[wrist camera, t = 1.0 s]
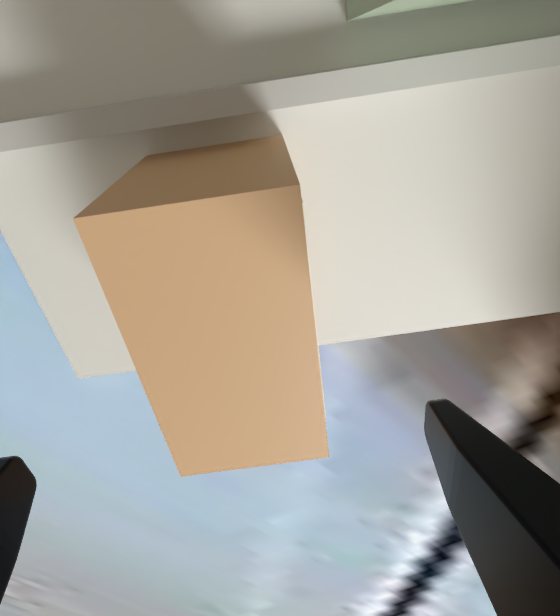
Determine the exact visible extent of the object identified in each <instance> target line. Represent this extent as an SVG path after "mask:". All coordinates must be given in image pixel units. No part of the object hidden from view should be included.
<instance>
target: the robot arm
mask: <svg viewBox="0 0 560 616" xmlns="http://www.w3.org/2000/svg"><path fill="white" fill-rule="evenodd" d="M424 431H425V436H426V440H427V443H428V446H429V449H430V452H431V455H432V458H433V461H434V464H435V467H436V470H437V473H438V476H439V480H440V483H441V486H442V489H443V492H444V495H445V498H446V501H447V504H448V506H449V509H450V511H451V514H452V516H453V518H454V521H455V523H456V525H457V527H458V529H459V532H460V534H461V536H462V538H463V541H464V543H465V545H466V547H467V549H468V552H469V554H470V556H471V558H472V561H473V563H474V565H475V567H476V569H477V572H478V574H479V576H480V578H481V581H482V583H483V585H484V587H485V589H486V592H487V594H488V596H489V598H490V601H491V603H492V605H493V607H494V609H495V612H496V614H497V616H560V484H559V483H558V482H557V481H555V480H554V479H553V478H551V477H550V476H549V475H547V474H546V473H545V472H543V471H542V470H541V469H539V468H538V467H537V466H535V465H534V464H533V463H531V462H530V461H529V460H527V459H526V458H525V457H523V456H522V455H521V454H519V453H518V452H517V451H515V450H514V449H513V448H511V447H510V446H509V445H508V444H506V443H505V442H504V441H502V440H501V439H500V438H498V437H497V436H496V435H494V434H493V433H492V432H490V431H489V430H488V429H486V428H485V427H484V426H482V425H481V424H480V423H478V422H477V421H476V420H474V419H473V418H472V417H470V416H469V415H468V414H466V413H465V412H464V411H462V410H461V409H460V408H458V407H457V406H456V405H455V404H453V403H452V402H451V401H449V400H447V399H437V400H430V401H428V402H427V403H426V408H425V422H424ZM35 491H36V479H35V477H34V475H33V474H32V473H31V471H30V470H29V468H28V467H27V466H26V464H25V463H24V461H23V460H22V459H21V458H20V457H18V456H10V457H2V458H0V604H1V601H2V598H3V596H4V593H5V590H6V588H7V585H8V582H9V580H10V577H11V574H12V571H13V569H14V566H15V563H16V560H17V557H18V553H19V550H20V546H21V543H22V539H23V535H24V532H25V528H26V524H27V521H28V517H29V513H30V510H31V506H32V502H33V499H34V495H35Z"/></svg>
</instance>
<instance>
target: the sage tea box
mask: <svg viewBox="0 0 560 616" xmlns="http://www.w3.org/2000/svg"><path fill="white" fill-rule="evenodd" d="M472 1H478V0H346V13H347V21H353V20H360V19H366V18H372V17H378V16H385V15H391V14H397V13H403V12H410V11H416V10H422V9H428V8H435V7H441V6H447V5H453V4H460V3H466V2H472Z"/></svg>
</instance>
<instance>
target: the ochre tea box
mask: <svg viewBox="0 0 560 616" xmlns="http://www.w3.org/2000/svg"><path fill="white" fill-rule="evenodd" d="M73 220H74V223H75V225H76V227H77V230H78V232H79V235H80V237H81V239H82V242H83V244H84V247H85V249H86V251H87V254H88V256H89V258H90V261H91V263H92V266H93V268H94V270H95V273H96V275H97V278H98V280H99V282H100V285H101V287H102V290H103V292H104V294H105V297H106V299H107V301H108V304H109V306H110V309H111V311H112V313H113V316H114V318H115V321H116V323H117V325H118V328H119V330H120V333H121V335H122V337H123V340H124V342H125V344H126V347H127V349H128V352H129V354H130V356H131V359H132V361H133V364H134V366H135V368H136V371H137V373H138V376H139V378H140V380H141V383H142V385H143V387H144V390H145V392H146V395H147V397H148V399H149V402H150V404H151V407H152V409H153V411H154V414H155V416H156V419H157V421H158V423H159V426H160V428H161V430H162V433H163V435H164V438H165V440H166V442H167V445H168V447H169V450H170V452H171V454H172V457H173V459H174V462H175V464H176V466H177V469H178V471H179V473H180V476H189V475H196V474H204V473H212V472H219V471H227V470H235V469H242V468H250V467H258V466H265V465H273V464H281V463H288V462H296V461H304V460H311V459H319V458H327V457H329V450H328V440H327V431H326V422H325V419H326V414H325V405H324V396H323V386H322V377H321V367H320V358H319V348H318V339H317V329H316V320H315V311H314V301H313V292H312V282H311V273H310V263H309V254H308V245H307V235H306V226H305V216H304V207H303V201H302V198H301V189H300V183H299V180H298V177H297V175H296V172H295V169H294V166H293V163H292V161H291V158H290V155H289V152H288V149H287V147H286V144H285V141H284V138H283V135H276V136H270V137H263V138H257V139H250V140H244V141H237V142H231V143H224V144H217V145H211V146H204V147H198V148H191V149H185V150H178V151H172V152H165V153H159V154H152V155H147V156H146V157H144V158H143V159H142V160H141V161H140V162H139V163H137V164H136V165H135V166H134V167H133V168H131V169H130V170H129V171H128V172H127V173H126V174H124V175H123V176H122V177H121V178H120V179H119V180H117V181H116V182H115V183H114V184H113V185H112V186H110V187H109V188H108V189H107V190H106V191H104V192H103V193H102V194H101V195H100V196H99V197H97V198H96V199H95V200H94V201H93V202H92V203H90V204H89V205H88V206H87V207H86V208H85V209H83V210H82V211H81V212H80V213H79V214H77V215H76V216H75V217H74V218H73Z"/></svg>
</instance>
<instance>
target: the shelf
mask: <svg viewBox="0 0 560 616" xmlns="http://www.w3.org/2000/svg"><path fill="white" fill-rule="evenodd" d="M276 135H283V138H284V141H285V144H286V147H287V149H288V152H289V155H290V158H291V161H292V163H293V166H294V169H295V172H296V175H297V177H298V180H299V183H300V189H301V198H302V201H303V207H304V216H305V226H306V235H307V245H308V254H309V263H310V273H311V282H312V292H313V301H314V311H315V320H316V329H317V339H318V345H324V344H331V343H339V342H346V341H353V340H360V339H367V338H375V337H382V336H389V335H396V334H404V333H411V332H418V331H425V330H432V329H440V328H447V327H454V326H461V325H469V324H476V323H483V322H490V321H497V320H505V319H512V318H519V317H526V316H534V315H541V314H548V313H555V312H560V0H478V1H472V2H466V3H460V4H453V5H447V6H441V7H435V8H428V9H422V10H416V11H410V12H403V13H397V14H391V15H385V16H378V17H372V18H366V19H360V20H353V21H347V13H346V0H0V230H1V232H2V234H3V236H4V238H5V240H6V242H7V244H8V246H9V248H10V250H11V251H12V253H13V255H14V257H15V259H16V261H17V263H18V265H19V267H20V269H21V271H22V272H23V274H24V276H25V278H26V280H27V282H28V284H29V286H30V288H31V290H32V292H33V293H34V295H35V297H36V299H37V301H38V303H39V305H40V307H41V309H42V311H43V312H44V314H45V316H46V318H47V320H48V322H49V324H50V326H51V328H52V330H53V332H54V333H55V335H56V337H57V339H58V341H59V343H60V345H61V347H62V349H63V351H64V353H65V354H66V356H67V358H68V360H69V362H70V364H71V366H72V368H73V370H74V372H75V373H76V375H77V377H78V378H86V377H93V376H100V375H107V374H114V373H122V372H129V371H136V368H135V366H134V364H133V361H132V359H131V356H130V354H129V352H128V349H127V347H126V344H125V342H124V340H123V337H122V335H121V333H120V330H119V328H118V325H117V323H116V321H115V318H114V316H113V313H112V311H111V309H110V306H109V304H108V301H107V299H106V297H105V294H104V292H103V290H102V287H101V285H100V282H99V280H98V278H97V275H96V273H95V270H94V268H93V266H92V263H91V261H90V258H89V256H88V254H87V251H86V249H85V247H84V244H83V242H82V239H81V237H80V235H79V232H78V230H77V227H76V225H75V223H74V220H73V218H74V217H75V216H76V215H77V214H79V213H80V212H81V211H82V210H83V209H85V208H86V207H87V206H88V205H89V204H90V203H92V202H93V201H94V200H95V199H96V198H97V197H99V196H100V195H101V194H102V193H103V192H104V191H106V190H107V189H108V188H109V187H110V186H112V185H113V184H114V183H115V182H116V181H117V180H119V179H120V178H121V177H122V176H123V175H124V174H126V173H127V172H128V171H129V170H130V169H131V168H133V167H134V166H135V165H136V164H137V163H139V162H140V161H141V160H142V159H143V158H144V157H146V156H147V155H152V154H159V153H165V152H172V151H178V150H185V149H191V148H198V147H204V146H211V145H217V144H224V143H231V142H237V141H244V140H250V139H257V138H263V137H270V136H276Z"/></svg>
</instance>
